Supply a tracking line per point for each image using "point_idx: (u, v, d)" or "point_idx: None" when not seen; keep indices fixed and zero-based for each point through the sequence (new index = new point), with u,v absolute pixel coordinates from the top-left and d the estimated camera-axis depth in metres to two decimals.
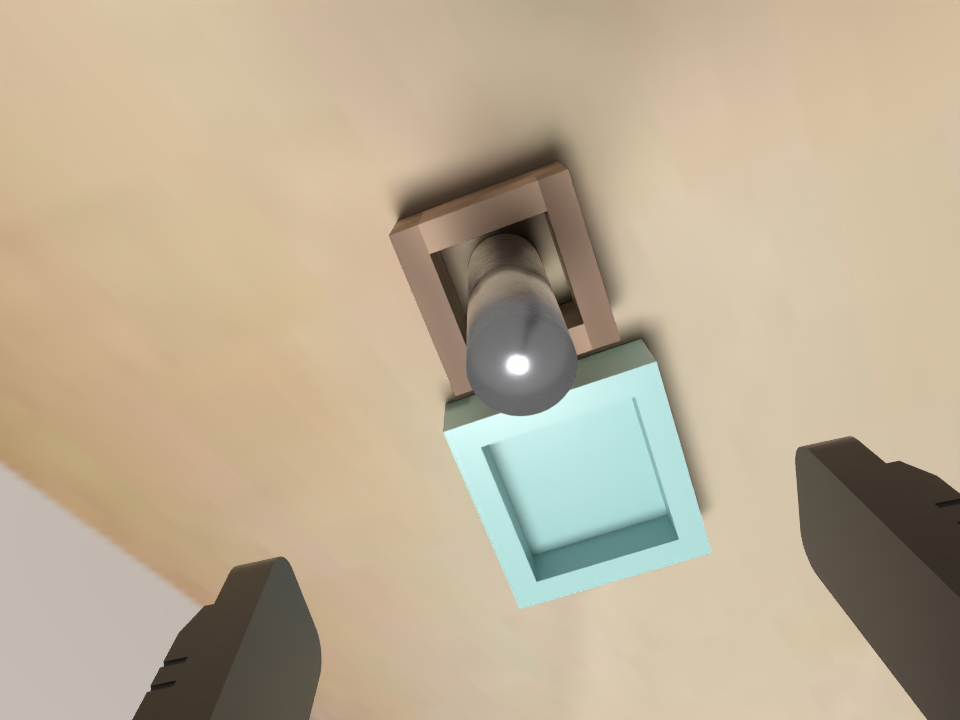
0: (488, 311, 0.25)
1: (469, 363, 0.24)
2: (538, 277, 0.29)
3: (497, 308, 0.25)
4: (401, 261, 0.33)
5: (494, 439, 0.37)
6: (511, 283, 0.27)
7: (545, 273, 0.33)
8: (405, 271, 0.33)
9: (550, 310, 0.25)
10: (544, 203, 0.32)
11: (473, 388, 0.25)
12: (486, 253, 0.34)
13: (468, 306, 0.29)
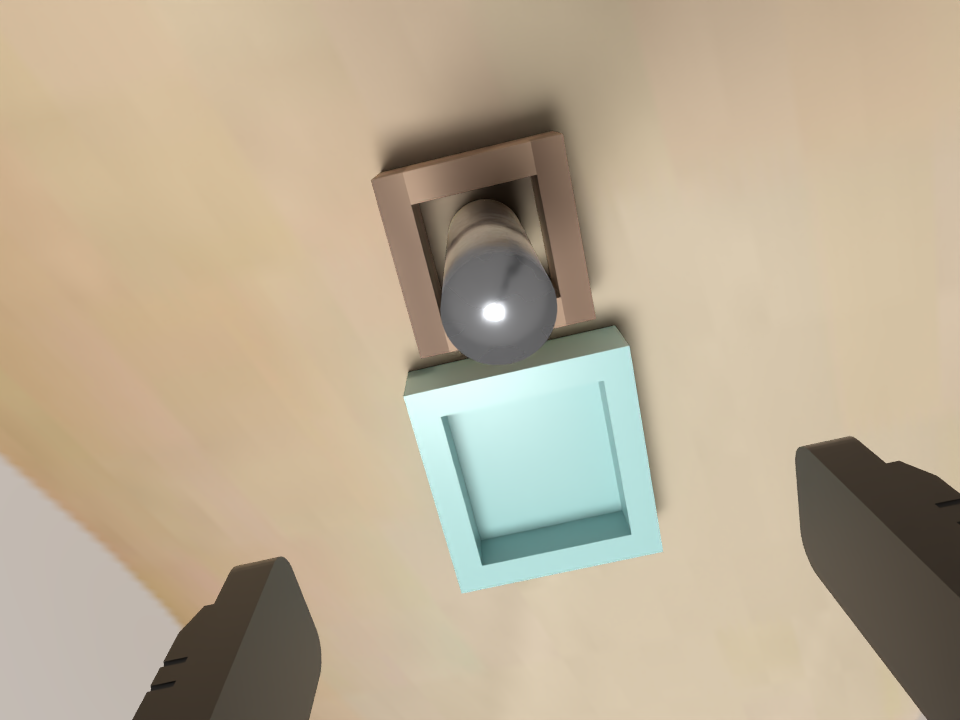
0: (470, 252, 0.24)
1: (444, 301, 0.23)
2: (522, 234, 0.28)
3: (479, 249, 0.24)
4: (380, 208, 0.32)
5: (455, 410, 0.36)
6: (495, 232, 0.26)
7: None
8: (383, 220, 0.32)
9: (534, 258, 0.24)
10: (534, 166, 0.31)
11: (445, 329, 0.23)
12: (469, 212, 0.33)
13: (446, 256, 0.28)
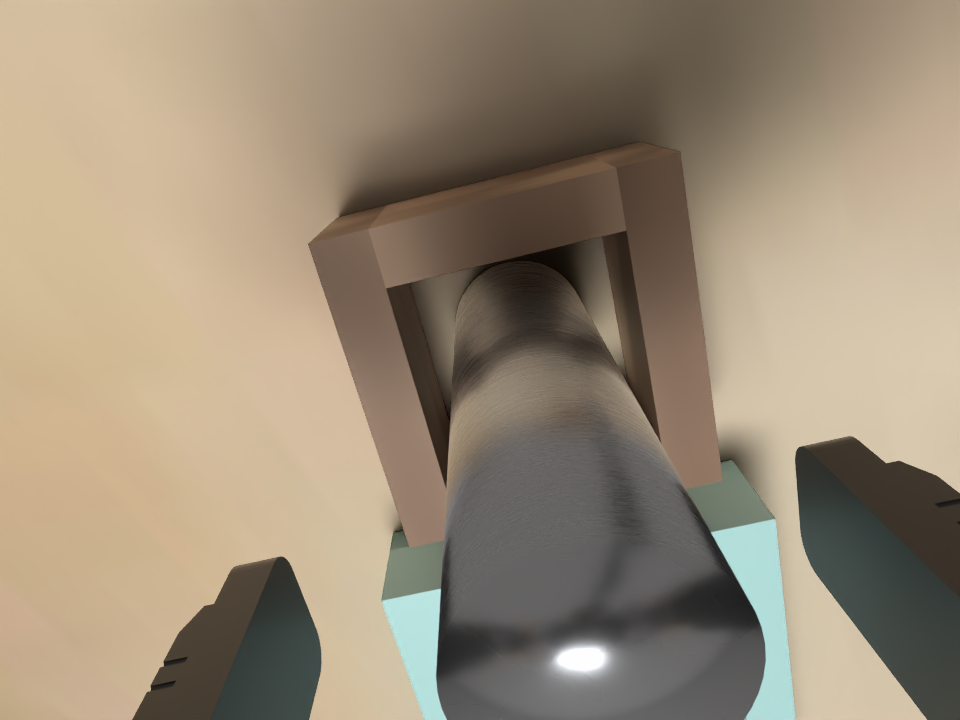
0: (516, 495, 0.09)
1: (447, 658, 0.08)
2: (614, 373, 0.13)
3: (542, 492, 0.09)
4: (328, 295, 0.17)
5: None
6: (566, 397, 0.11)
7: None
8: (335, 316, 0.17)
9: (686, 507, 0.09)
10: (623, 214, 0.16)
11: (451, 719, 0.08)
12: (496, 297, 0.18)
13: (454, 420, 0.13)
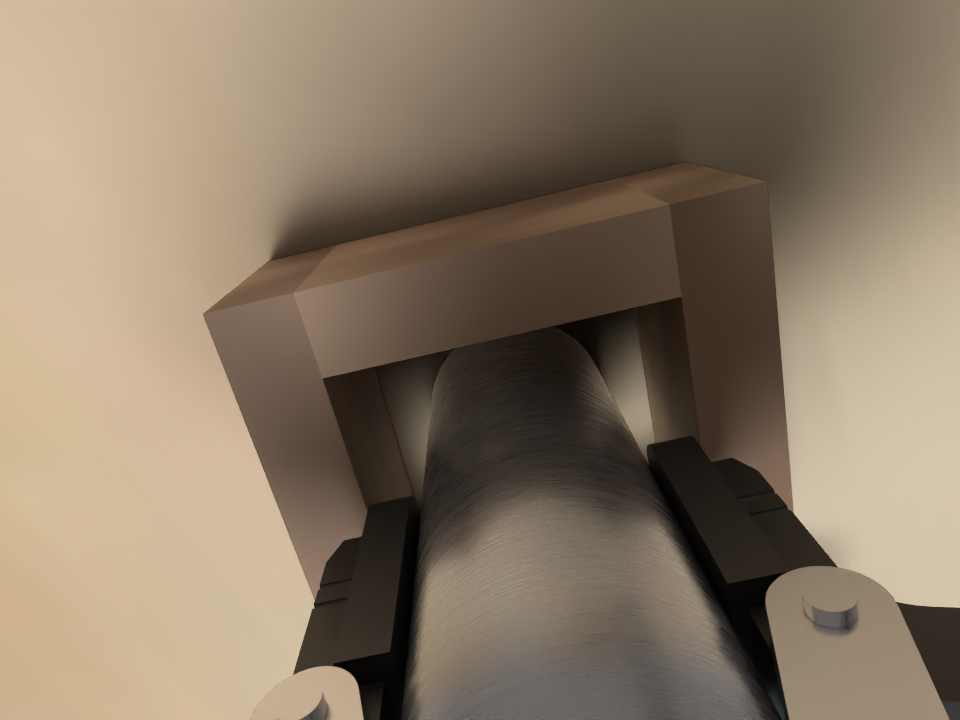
0: None
1: None
2: (685, 562, 0.08)
3: None
4: (237, 388, 0.11)
5: None
6: (622, 676, 0.06)
7: None
8: (248, 417, 0.12)
9: None
10: (677, 274, 0.11)
11: None
12: (486, 388, 0.12)
13: (413, 641, 0.08)
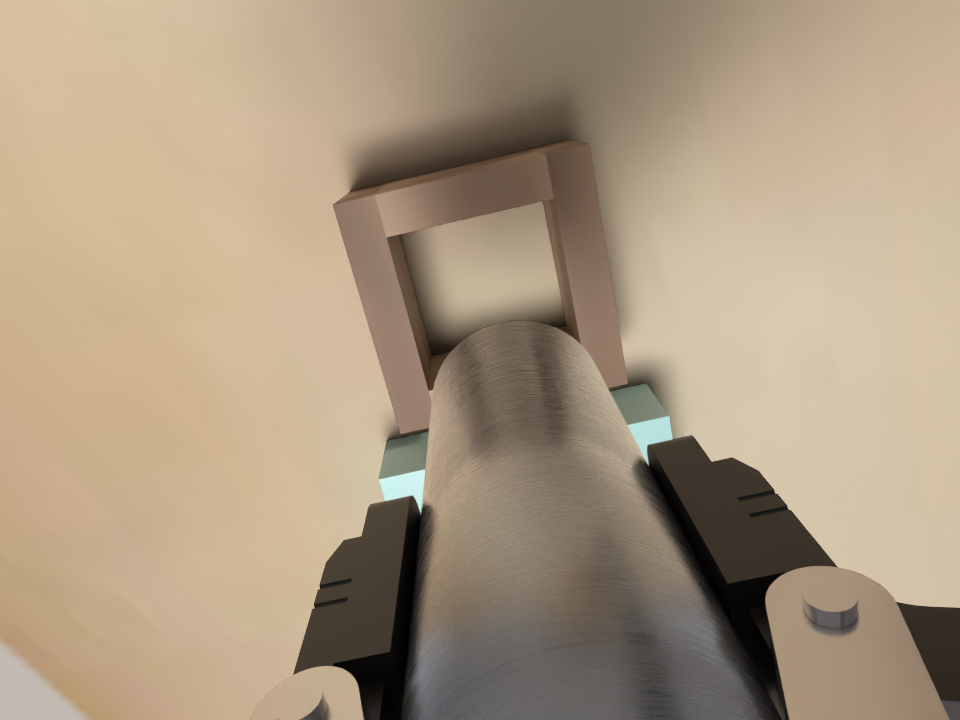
0: None
1: None
2: (685, 561, 0.08)
3: None
4: (346, 242, 0.24)
5: None
6: (621, 674, 0.06)
7: None
8: (350, 257, 0.24)
9: None
10: (551, 187, 0.24)
11: None
12: (486, 387, 0.12)
13: (413, 639, 0.08)
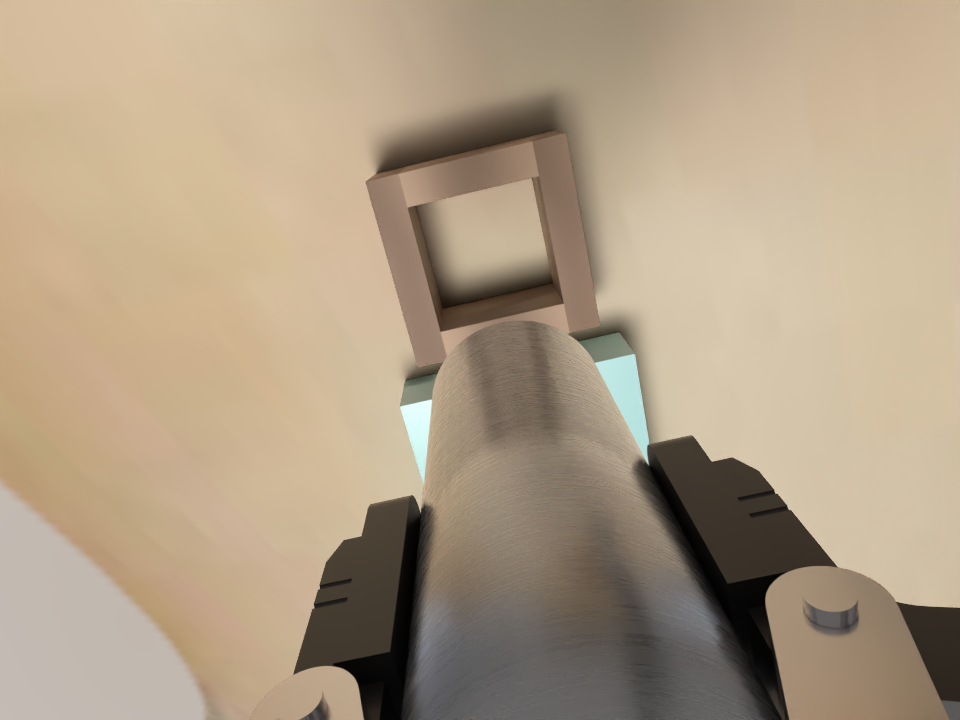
0: None
1: None
2: (685, 562, 0.08)
3: None
4: (375, 211, 0.30)
5: None
6: (622, 676, 0.06)
7: None
8: (379, 223, 0.31)
9: None
10: (536, 167, 0.30)
11: None
12: (486, 388, 0.12)
13: (413, 641, 0.08)
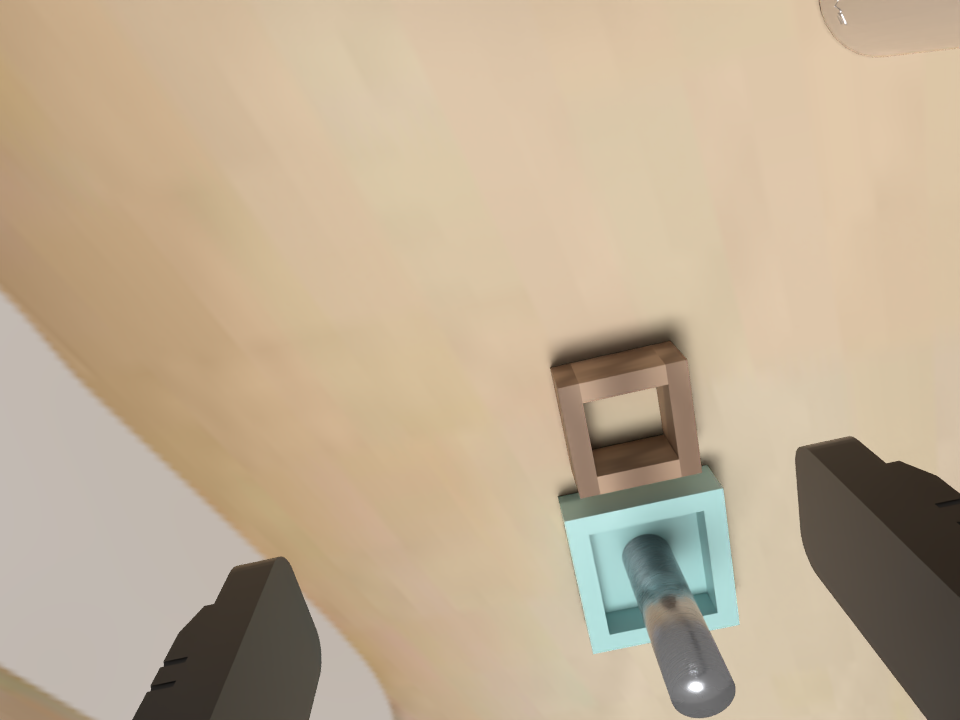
0: (684, 655, 0.43)
1: (674, 689, 0.42)
2: (695, 607, 0.47)
3: (690, 656, 0.43)
4: (562, 405, 0.47)
5: (599, 530, 0.51)
6: (688, 623, 0.45)
7: None
8: (563, 412, 0.47)
9: (719, 658, 0.43)
10: (667, 379, 0.47)
11: (672, 702, 0.42)
12: (648, 562, 0.51)
13: (650, 620, 0.47)
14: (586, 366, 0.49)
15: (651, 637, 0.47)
